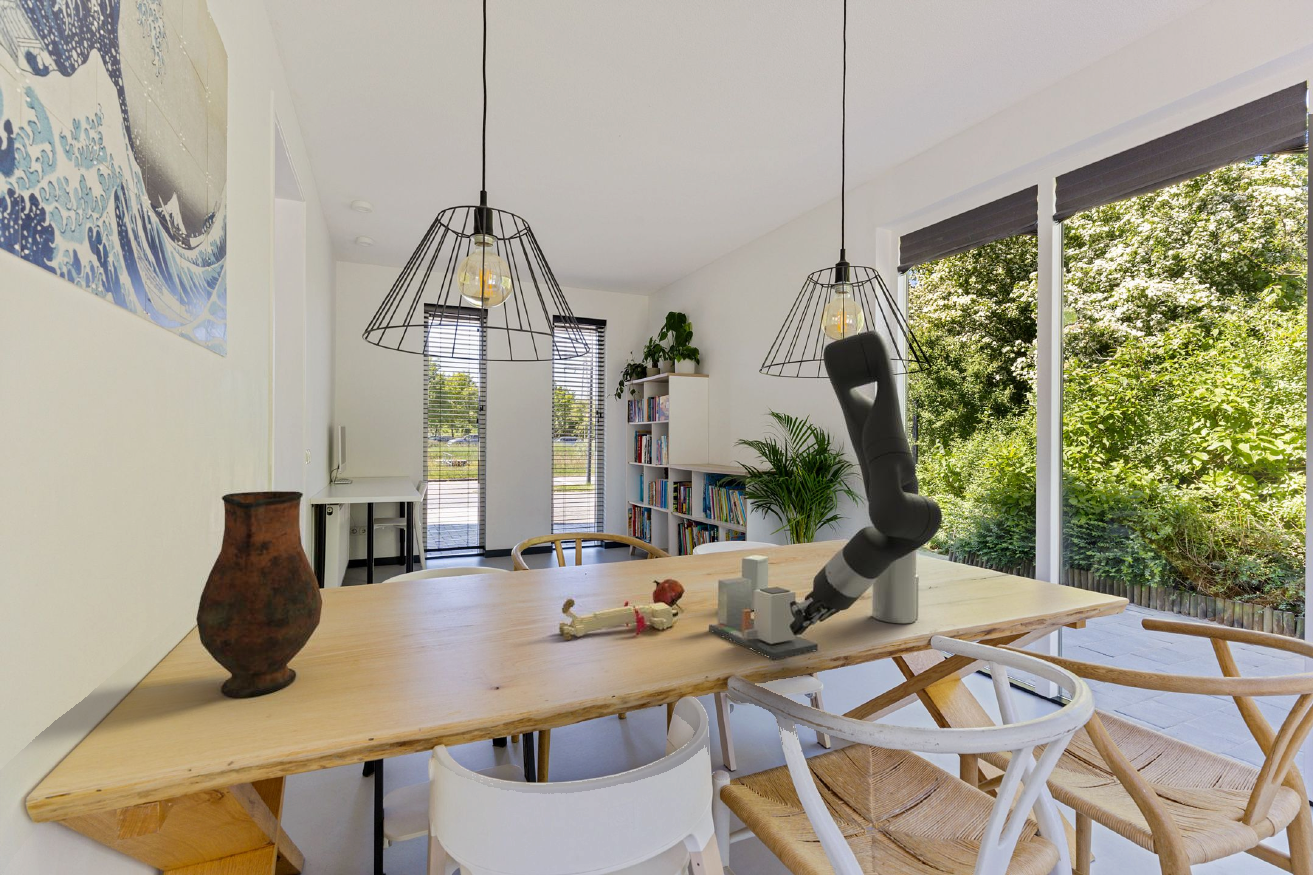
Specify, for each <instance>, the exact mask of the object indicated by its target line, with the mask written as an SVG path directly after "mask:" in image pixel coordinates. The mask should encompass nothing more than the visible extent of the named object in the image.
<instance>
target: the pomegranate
mask: <svg viewBox="0 0 1313 875" xmlns="http://www.w3.org/2000/svg"><path fill="white" fill-rule="evenodd" d="M652 583H653V584H654V583H655V585H656V586H655V589H654V590H653V591H652V602H653V604H655V603H665V604H666V605H668V606H669V607H671V608H673V607H674V606H676V607H677V608H679V610H680V611H681V612H682V613H684V610H683V608H682V607H681V606H680V605H678V603H677V602H679V600H680V599H682V597H683V594H684V593H685V589H684V587H683V585H682V583H681V582H679V580H675V579H672V578H668V579H663V581H662V582H660V581H657V580H654V581H652Z"/></svg>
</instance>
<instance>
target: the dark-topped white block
mask: <svg viewBox="0 0 1313 875" xmlns="http://www.w3.org/2000/svg"><path fill="white" fill-rule="evenodd" d="M796 596H797V595H796V591H792V590H789V589H787V588H783V587H779V586H774V587H768V588H765V589H759V590H754V611H753V619H754V629H750V630H745V631H744V637H745V638H752V637H756V638H758V639H761V640H763V641H765V642H768V643H770V644H773V643H778V642H783V641H788V640H794V639H795V635H794V634H793V633H792V631H791V629H790V624H791V623H792V622H793V621H794V620H795V619H794V617H793V616H792V614H791V609H790V603H791V602H792V601H796Z"/></svg>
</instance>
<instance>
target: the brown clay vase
mask: <svg viewBox="0 0 1313 875" xmlns="http://www.w3.org/2000/svg"><path fill="white" fill-rule="evenodd" d="M303 495H304V493H303V492H300V491H294V490H293V491H292V490H291V491H284V490H283V491H281V490H280V491H279V490H278V491H277V490H276V491H275V490H273V491H272V490H271V491H248V492H235V493H226V494H225V495H223V496H221V500H222V501H223V505H224V506H223V507H224V529H223V536H222V542H221V548H220V552H219V554H218V556H217V558H216V559H215V561H214V564H213V566H212V569H210V570H211V571H210V572H209V575H208V576H207V579H206V582H205V584H204V588H203V590H202V591H201V595H200V599H199V604H198V610H197V612H196V623H197V630H198V635H199V641H200V643H201V645H202V646H203V647H204V648H205V650H207V652H208V653H209V654H210V656H211V657H212V658H213V659H214V660H215V661H216V663H218V664H220V666H221V667H223V668H224V669H225V670H226V671H227V672H228V673H230V674H231V676H230V677H229V678H228V679H226V680H225V681H224V682H223V683H222V685H221V686H220V692H221V693H222V694H223V695H224V696H226V697H228V698H234V699H235V698H237V699H238V698H249V697H250V698H251V697H257V696H261V695H265V694H271V693H274V692H276V691H277V692H278V691H279V690H281V689H284V688H286V687H288V686H290V685H292V684H293V683H294V681H295V680H296V678H297V672H296V670H294V669H293V668H289V667H288V664H289V663H290V662H291V660H293V659H294V658H295V657H296V655H297V654H298V653H299V652H300V651H301V650H302V649H303V648H304V647H305V646H306V645H307V643H308V642H309V640H310V638H311V636H312V635H313V634H314V633H315V631H316V629H317V628H318V627H319V625H320V622H321V615H322V607H323V599H322V595H321V590H320V585H319V582H318V579H317V576H316V574H315V572H314V570H313V568H312V566H311V563H310V562H309V560H308V557H307V555H306V553H305V552H306V551H305V550H304V548H303V544H302V536H301V535H302V534H301V529H300V528H301V527H300V519H301V518H300V515H301V513H300V510H301V509H300V508H301V501H302V500H301V499H302V497H303Z"/></svg>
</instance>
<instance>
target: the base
mask: <svg viewBox="0 0 1313 875" xmlns="http://www.w3.org/2000/svg"><path fill="white" fill-rule="evenodd" d="M717 586H718V587H717V588H718V589H717V591H718V592H717V623H711V624H708V631H709V630H710V631H709V632H711V631H713V632H714V633H713V632H712V633H713V634H715V633H717V634H718V636H720V635H721V636H720V637H722V636H724V637H725V638H724V637H723V638H724V639H726V638H728V639H731V640H732V641H731V640H730V641H731V642H733V641H735V642H737V643H739V644H742V645H744V646H746V647H748V648H752V649H753V650H755V651H757V652H760V653H762V654H763V655H762V654H761V655H762V656H764V655H766V656H769V657H770V658H772V659H771V660H773V659H775V660H777V659H776V658H779V659H783V658H782V657H784V658H787V657H786V656H789V657H792V656H791V655H793V656H797V655H796V654H798V655H800V654H799V653H803V654H806V653H805V652H808V653H811V652H810V651H812V652H814V651H813V650H817V651H819V646H818V645H819V644H818V643H816V642H814V641H811V640H809V639H806V638H803V637H801V636H799V635H796V636H795V639H794V640H788V641H783V642H778V643H773V644H770V643H768V642H765V641H763V640H761V639H758V638H756V637H752V638H745V637H743V636H742V610H747V609H749V610H751V580H750V579H746V578H743V577H742V576H741V577H734V578H726V579H718V585H717ZM751 611H752V610H751ZM751 629H754V618H752V617H751ZM717 634H716V635H717ZM728 639H727V640H728ZM735 642H734V643H735ZM737 643H736V644H737ZM739 644H738V645H739ZM742 645H741V646H742ZM744 646H743V647H744ZM746 647H745V648H746ZM748 648H747V649H748ZM753 650H752V651H753ZM755 651H754V652H755ZM757 652H756V653H757ZM766 656H765V657H766ZM770 658H769V659H770Z"/></svg>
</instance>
